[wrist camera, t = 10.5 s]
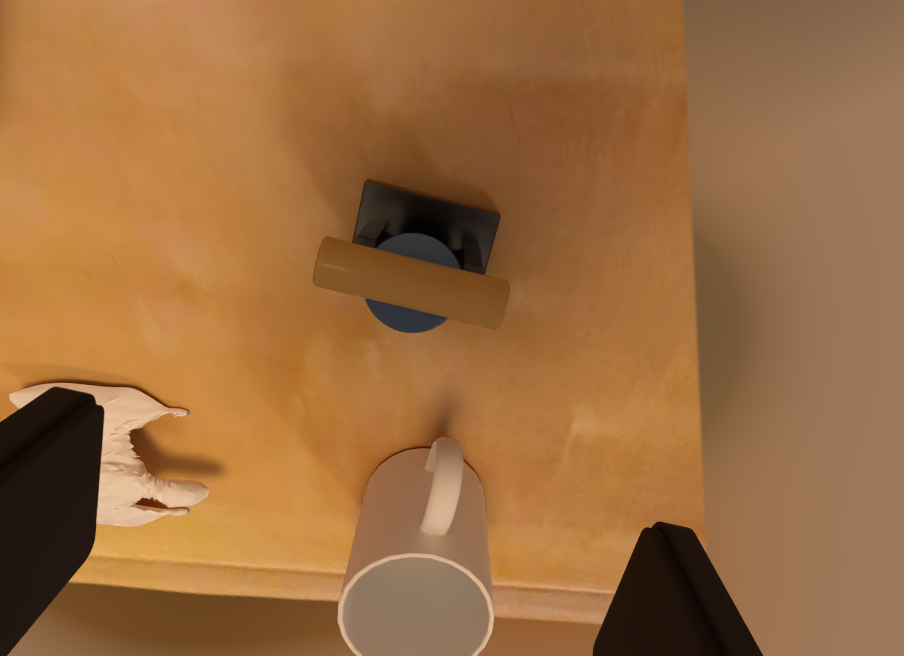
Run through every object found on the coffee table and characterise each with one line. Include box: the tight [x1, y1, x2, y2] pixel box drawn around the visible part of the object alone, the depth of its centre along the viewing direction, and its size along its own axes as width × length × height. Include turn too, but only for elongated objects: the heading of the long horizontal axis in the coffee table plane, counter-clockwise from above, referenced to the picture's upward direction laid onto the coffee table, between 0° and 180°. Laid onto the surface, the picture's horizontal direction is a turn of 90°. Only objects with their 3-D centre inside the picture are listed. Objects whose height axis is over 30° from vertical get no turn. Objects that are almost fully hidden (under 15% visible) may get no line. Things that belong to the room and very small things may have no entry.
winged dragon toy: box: [9, 383, 209, 527], centre depth 38 cm, size 18×10×4 cm, turn 83°
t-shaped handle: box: [313, 233, 510, 333], centre depth 25 cm, size 12×6×3 cm
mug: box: [338, 437, 494, 656], centre depth 36 cm, size 12×8×10 cm, turn 168°
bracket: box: [352, 179, 500, 275], centre depth 33 cm, size 6×8×6 cm
